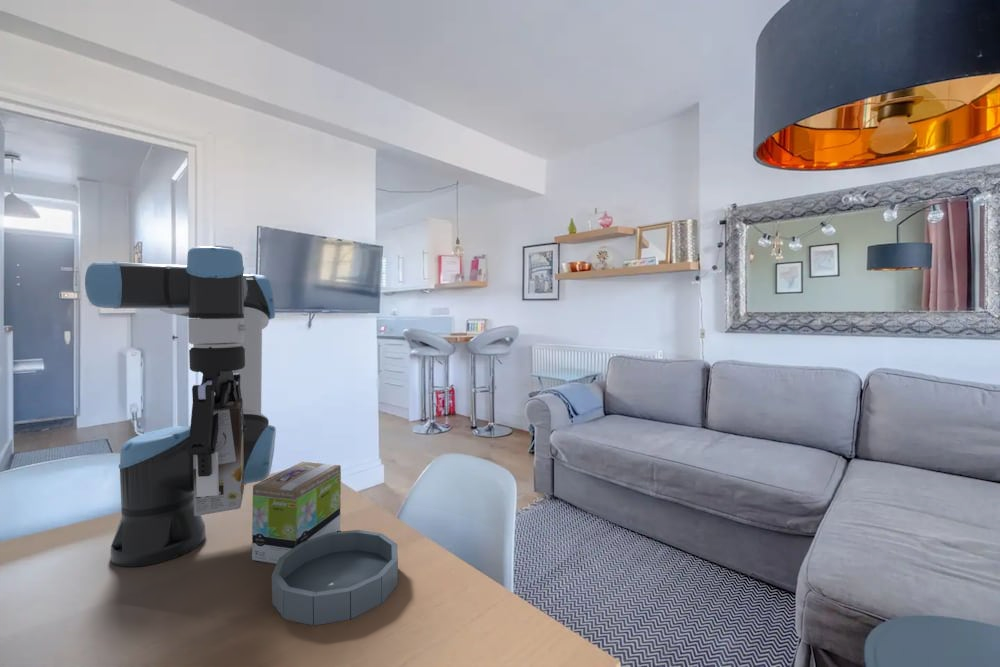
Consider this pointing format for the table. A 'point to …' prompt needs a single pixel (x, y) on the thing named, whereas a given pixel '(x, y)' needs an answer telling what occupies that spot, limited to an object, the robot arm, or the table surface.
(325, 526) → the tea box
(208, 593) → the table surface
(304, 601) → the bowl
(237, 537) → the table surface
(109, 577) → the table surface
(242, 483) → the coffee box
